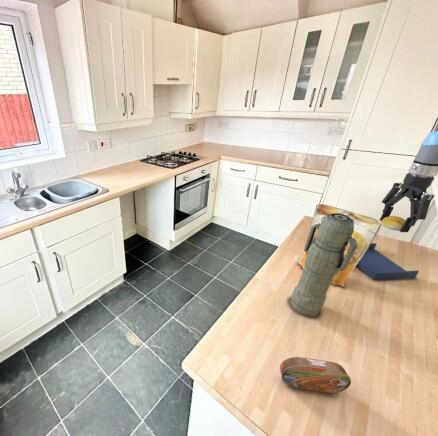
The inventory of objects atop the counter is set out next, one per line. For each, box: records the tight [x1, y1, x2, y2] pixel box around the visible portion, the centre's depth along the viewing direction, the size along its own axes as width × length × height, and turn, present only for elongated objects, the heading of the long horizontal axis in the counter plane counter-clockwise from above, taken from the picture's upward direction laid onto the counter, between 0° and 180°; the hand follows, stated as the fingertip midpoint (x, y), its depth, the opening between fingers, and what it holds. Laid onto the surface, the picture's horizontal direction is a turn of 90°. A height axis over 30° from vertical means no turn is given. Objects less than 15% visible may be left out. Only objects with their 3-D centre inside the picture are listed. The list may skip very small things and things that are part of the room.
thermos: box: [289, 213, 358, 318], centre depth 75 cm, size 9×12×35 cm
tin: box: [279, 356, 352, 394], centre depth 60 cm, size 15×3×8 cm, turn 80°
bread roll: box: [380, 215, 406, 232], centre depth 101 cm, size 8×9×4 cm
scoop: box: [356, 242, 420, 281], centre depth 101 cm, size 26×19×4 cm
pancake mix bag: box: [298, 203, 382, 288], centre depth 91 cm, size 7×19×28 cm, turn 34°
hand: (393, 225), depth 102 cm, fingers closed on bread roll, 9 cm apart
